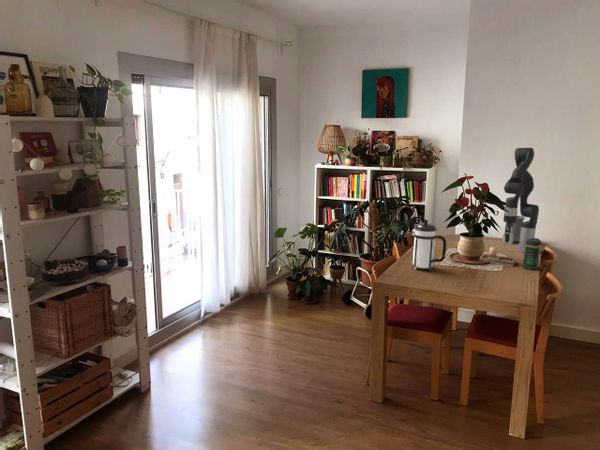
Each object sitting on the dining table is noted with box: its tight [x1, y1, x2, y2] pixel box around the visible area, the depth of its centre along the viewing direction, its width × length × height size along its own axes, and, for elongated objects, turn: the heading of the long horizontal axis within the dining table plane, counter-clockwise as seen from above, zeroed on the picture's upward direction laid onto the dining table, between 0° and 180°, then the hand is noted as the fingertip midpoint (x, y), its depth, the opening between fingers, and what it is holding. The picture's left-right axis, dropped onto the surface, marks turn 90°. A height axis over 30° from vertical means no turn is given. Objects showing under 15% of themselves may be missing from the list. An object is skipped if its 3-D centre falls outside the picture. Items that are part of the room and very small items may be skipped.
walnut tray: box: [479, 253, 517, 268], centre depth 309 cm, size 11×20×3 cm, turn 57°
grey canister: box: [501, 215, 526, 245], centre depth 362 cm, size 19×15×25 cm
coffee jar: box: [522, 237, 542, 271], centre depth 295 cm, size 10×8×19 cm
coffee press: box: [411, 219, 447, 272], centre depth 289 cm, size 17×16×30 cm
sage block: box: [502, 232, 514, 244], centre depth 303 cm, size 5×5×5 cm
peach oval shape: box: [488, 246, 498, 256], centre depth 321 cm, size 5×5×6 cm
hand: (507, 241), depth 304 cm, fingers closed on sage block, 5 cm apart
